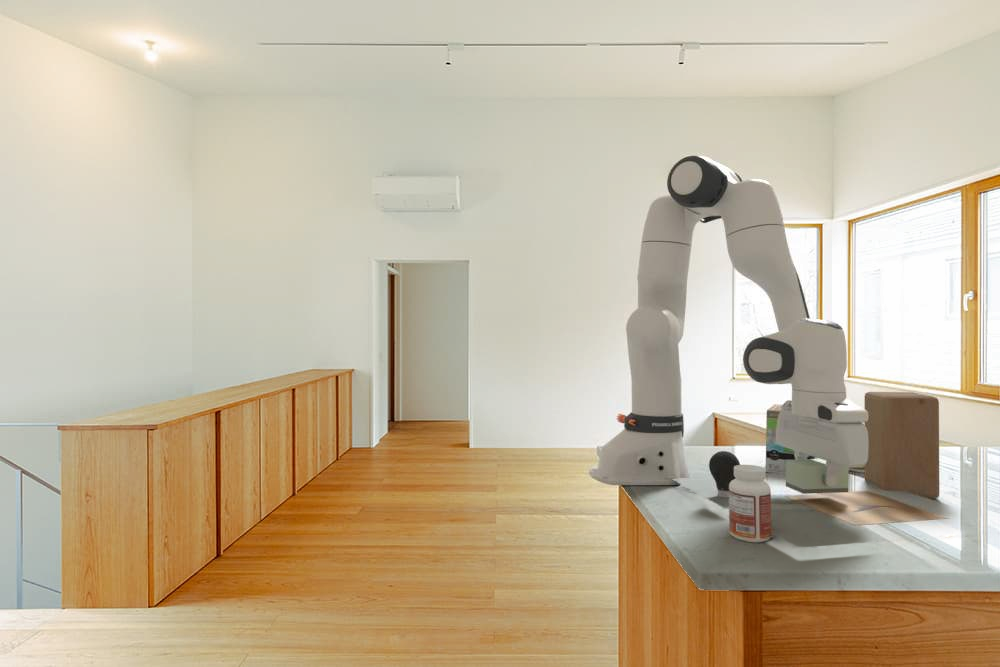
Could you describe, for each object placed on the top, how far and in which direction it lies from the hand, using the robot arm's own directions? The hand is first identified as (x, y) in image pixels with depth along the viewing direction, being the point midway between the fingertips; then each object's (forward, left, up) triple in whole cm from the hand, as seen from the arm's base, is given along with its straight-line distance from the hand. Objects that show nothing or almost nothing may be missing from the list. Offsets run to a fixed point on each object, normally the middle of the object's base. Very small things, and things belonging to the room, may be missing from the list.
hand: (816, 480), depth 107 cm
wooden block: (+24, +6, -5) cm, 25 cm away
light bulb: (-15, +6, -5) cm, 17 cm away
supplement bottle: (+30, +24, -5) cm, 39 cm away
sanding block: (0, 0, -2) cm, 2 cm away
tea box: (+16, +28, -5) cm, 33 cm away
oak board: (+5, -5, -5) cm, 9 cm away
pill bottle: (-21, -11, -5) cm, 24 cm away
